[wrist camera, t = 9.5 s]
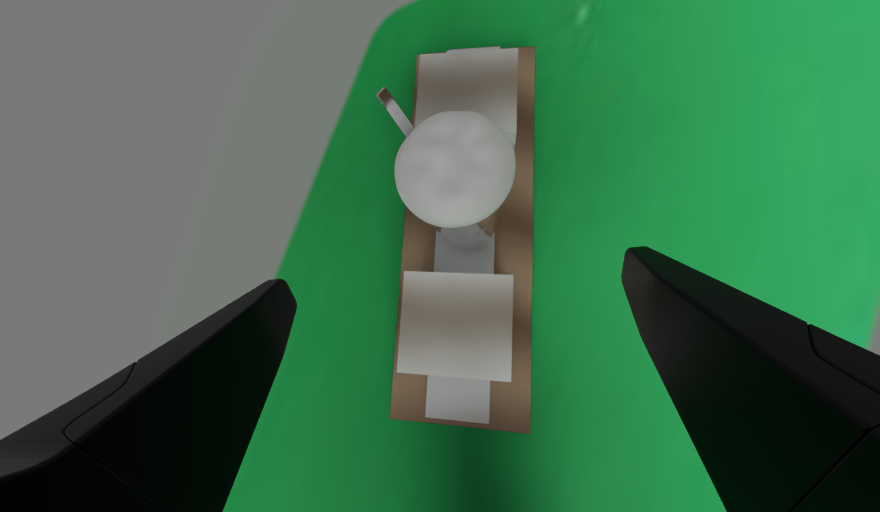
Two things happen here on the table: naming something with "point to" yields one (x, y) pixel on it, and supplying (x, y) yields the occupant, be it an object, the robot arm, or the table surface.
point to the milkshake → (454, 172)
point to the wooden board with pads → (471, 265)
